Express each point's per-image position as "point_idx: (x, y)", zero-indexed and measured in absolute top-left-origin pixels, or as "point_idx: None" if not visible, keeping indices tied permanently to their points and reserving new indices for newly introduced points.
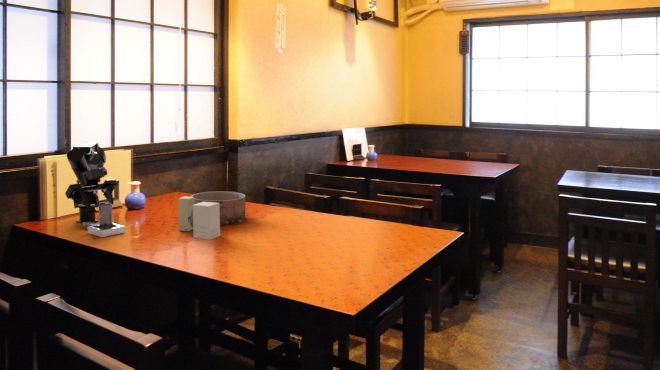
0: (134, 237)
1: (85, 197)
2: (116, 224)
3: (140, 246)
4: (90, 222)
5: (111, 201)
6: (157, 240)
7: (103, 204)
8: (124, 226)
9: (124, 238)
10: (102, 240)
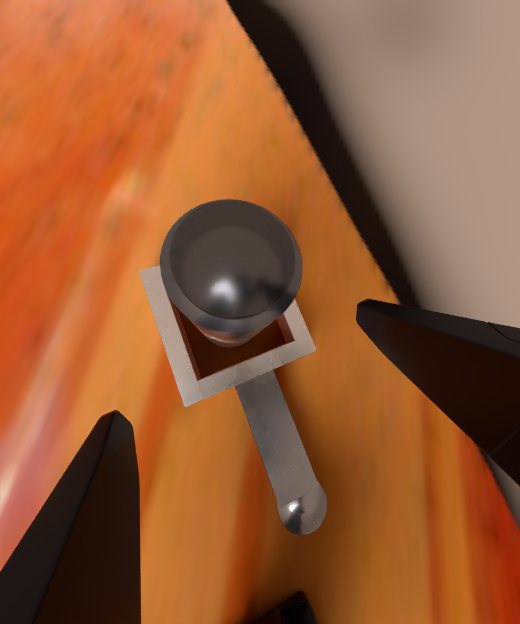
0: (140, 183)
1: (510, 340)
2: (168, 334)
3: (163, 64)
4: (287, 492)
5: (113, 440)
6: (72, 97)
7: (262, 213)
8: (141, 270)
9: (183, 189)
10: (267, 202)
